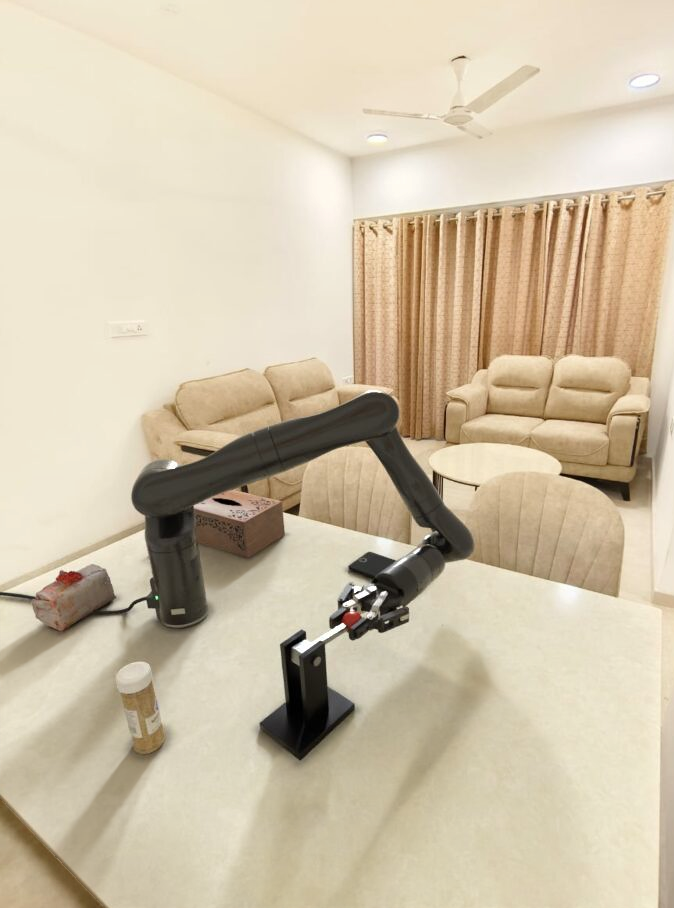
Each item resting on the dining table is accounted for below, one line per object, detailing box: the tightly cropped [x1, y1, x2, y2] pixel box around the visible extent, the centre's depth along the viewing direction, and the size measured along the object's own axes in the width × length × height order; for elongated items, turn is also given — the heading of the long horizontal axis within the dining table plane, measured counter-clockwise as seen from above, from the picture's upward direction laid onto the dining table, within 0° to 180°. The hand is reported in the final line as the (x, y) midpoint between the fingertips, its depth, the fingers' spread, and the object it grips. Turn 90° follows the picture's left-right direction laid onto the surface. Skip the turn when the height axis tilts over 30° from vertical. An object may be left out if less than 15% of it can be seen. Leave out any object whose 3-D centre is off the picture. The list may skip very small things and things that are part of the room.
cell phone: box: [347, 551, 398, 579], centre depth 118 cm, size 9×18×1 cm, turn 55°
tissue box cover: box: [194, 489, 286, 559], centre depth 136 cm, size 26×14×10 cm, turn 61°
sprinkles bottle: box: [115, 661, 166, 755], centre depth 73 cm, size 5×5×14 cm
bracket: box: [258, 629, 356, 762], centre depth 76 cm, size 12×9×15 cm
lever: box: [291, 611, 363, 666], centre depth 78 cm, size 14×4×4 cm, turn 141°
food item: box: [29, 563, 117, 632], centre depth 103 cm, size 14×8×10 cm, turn 154°
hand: (341, 629), depth 80 cm, fingers closed on lever, 3 cm apart
